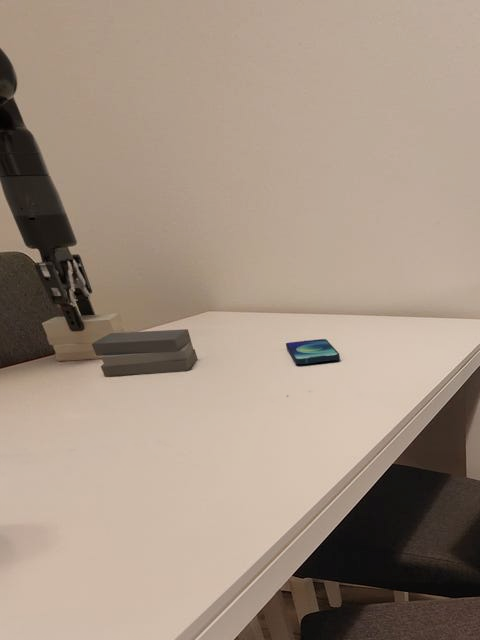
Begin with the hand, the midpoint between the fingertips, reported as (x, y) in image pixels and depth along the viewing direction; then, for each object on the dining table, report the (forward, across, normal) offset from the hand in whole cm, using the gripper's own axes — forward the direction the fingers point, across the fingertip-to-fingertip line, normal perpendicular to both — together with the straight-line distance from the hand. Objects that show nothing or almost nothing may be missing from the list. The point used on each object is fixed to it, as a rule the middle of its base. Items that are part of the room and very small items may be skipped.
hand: (84, 326), depth 105 cm
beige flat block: (+1, 0, 0) cm, 1 cm away
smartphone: (+5, +12, +40) cm, 42 cm away
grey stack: (+5, +13, +13) cm, 19 cm away
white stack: (+5, 0, 0) cm, 5 cm away
